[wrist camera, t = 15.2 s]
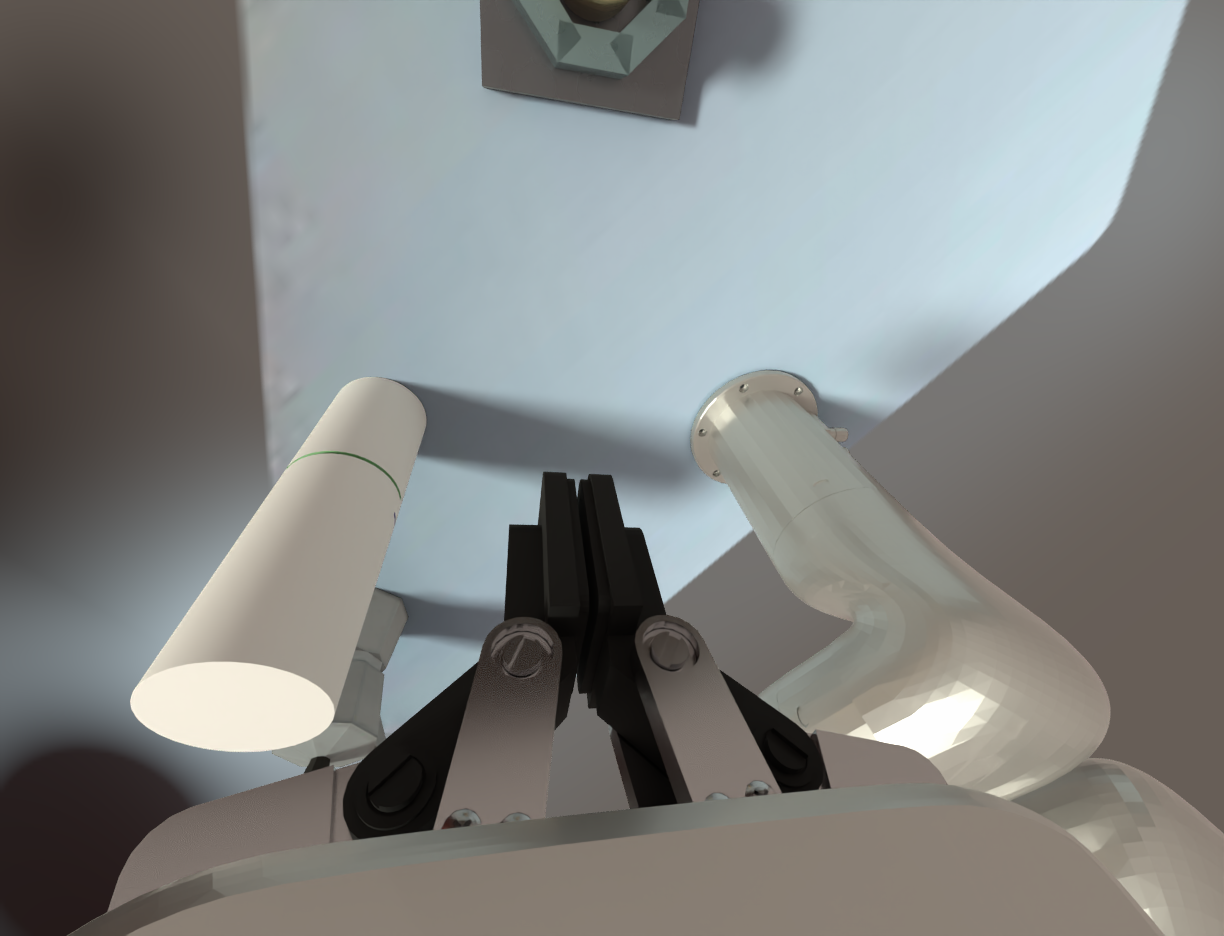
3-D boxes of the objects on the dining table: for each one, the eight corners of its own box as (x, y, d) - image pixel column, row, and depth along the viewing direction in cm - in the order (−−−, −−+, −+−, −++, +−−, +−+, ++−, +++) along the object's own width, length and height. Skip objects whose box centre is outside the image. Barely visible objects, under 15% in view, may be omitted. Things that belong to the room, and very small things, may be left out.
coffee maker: (439, 611, 55) (410, 783, 40) (396, 649, 58) (355, 822, 43) (311, 558, 47) (219, 746, 33) (269, 604, 50) (168, 796, 36)
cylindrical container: (333, 442, 40) (148, 752, 20) (335, 367, 36) (111, 656, 16) (421, 457, 42) (333, 751, 22) (431, 388, 39) (336, 666, 19)
